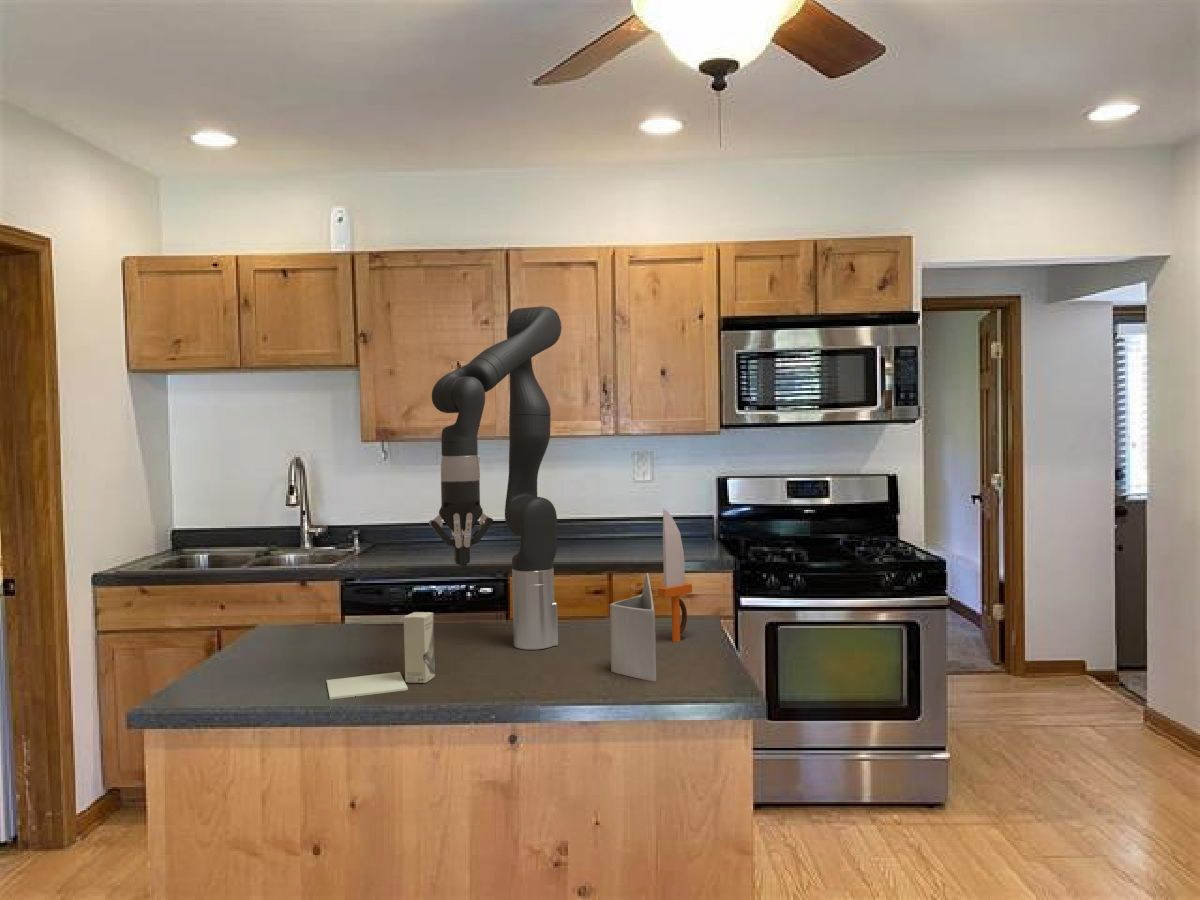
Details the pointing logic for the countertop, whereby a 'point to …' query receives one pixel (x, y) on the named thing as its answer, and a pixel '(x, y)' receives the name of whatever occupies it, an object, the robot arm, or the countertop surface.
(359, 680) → the sage mat
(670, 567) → the knife
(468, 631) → the countertop surface
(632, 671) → the planter
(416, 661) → the box
